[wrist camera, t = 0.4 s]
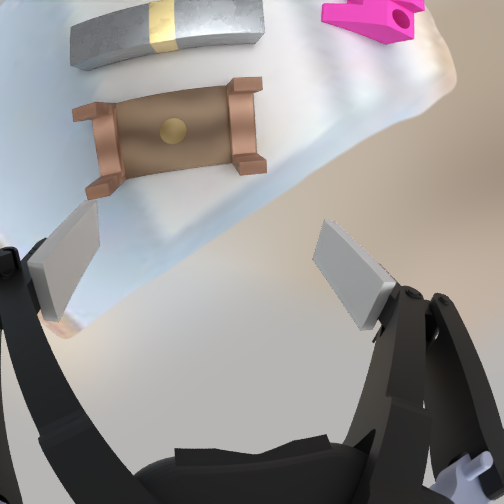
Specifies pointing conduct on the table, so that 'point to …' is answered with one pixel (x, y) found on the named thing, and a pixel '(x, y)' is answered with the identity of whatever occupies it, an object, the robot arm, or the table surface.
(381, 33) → the bracket
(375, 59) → the table surface
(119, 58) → the grey metal bar
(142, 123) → the stove stand
